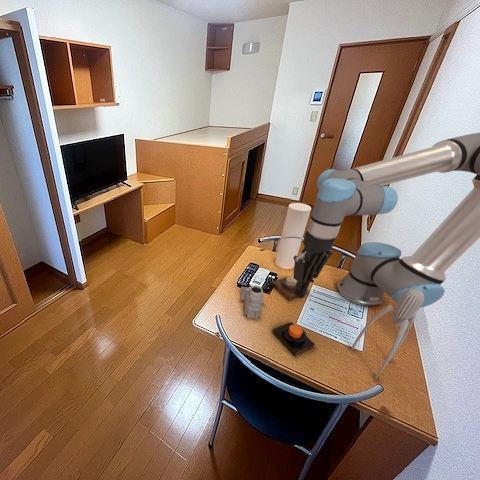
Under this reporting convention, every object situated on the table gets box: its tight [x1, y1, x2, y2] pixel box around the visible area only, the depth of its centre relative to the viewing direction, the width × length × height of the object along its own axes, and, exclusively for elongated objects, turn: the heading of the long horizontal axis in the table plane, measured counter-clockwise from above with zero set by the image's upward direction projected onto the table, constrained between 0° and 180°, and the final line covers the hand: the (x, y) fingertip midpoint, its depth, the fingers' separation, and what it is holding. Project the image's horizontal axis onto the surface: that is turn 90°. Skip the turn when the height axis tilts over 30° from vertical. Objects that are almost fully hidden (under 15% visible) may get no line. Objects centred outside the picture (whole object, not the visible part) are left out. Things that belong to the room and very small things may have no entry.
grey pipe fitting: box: [239, 284, 264, 320], centre depth 100 cm, size 9×12×15 cm
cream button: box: [286, 275, 297, 286], centre depth 108 cm, size 4×4×2 cm
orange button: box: [288, 324, 304, 338], centre depth 86 cm, size 4×4×2 cm
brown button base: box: [270, 275, 309, 302], centre depth 109 cm, size 10×10×4 cm
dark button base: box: [272, 321, 316, 357], centre depth 88 cm, size 8×10×4 cm
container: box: [274, 202, 312, 270], centre depth 118 cm, size 9×9×30 cm
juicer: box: [350, 289, 425, 380], centre depth 73 cm, size 10×9×30 cm
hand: (299, 295), depth 86 cm, fingers closed
